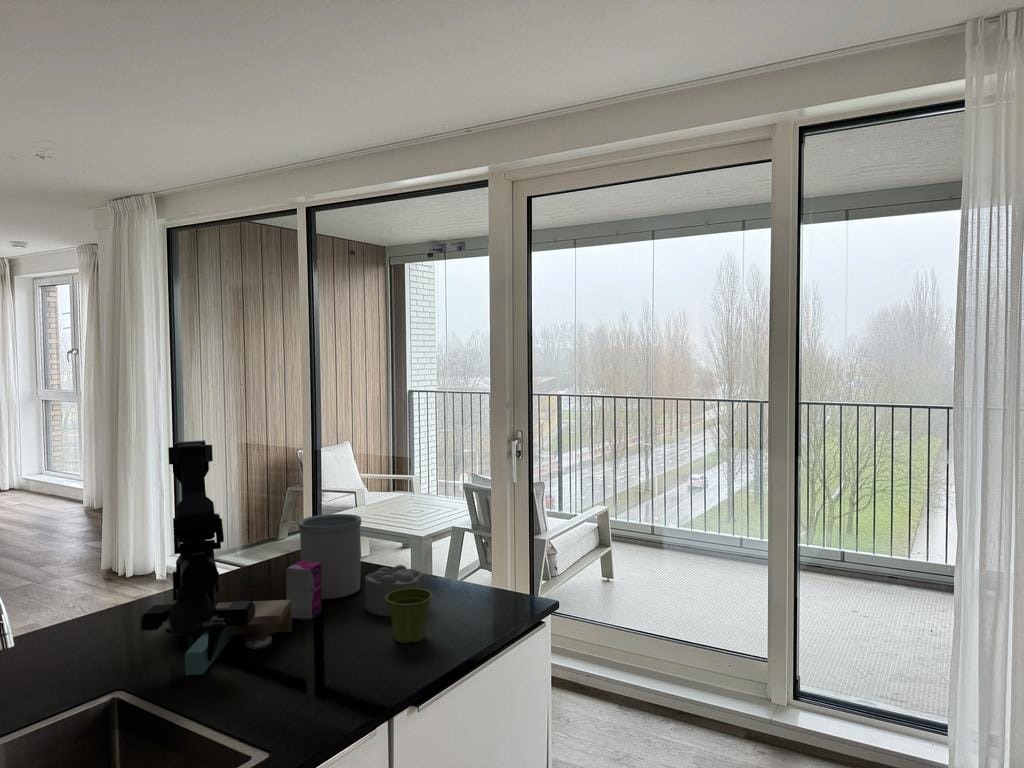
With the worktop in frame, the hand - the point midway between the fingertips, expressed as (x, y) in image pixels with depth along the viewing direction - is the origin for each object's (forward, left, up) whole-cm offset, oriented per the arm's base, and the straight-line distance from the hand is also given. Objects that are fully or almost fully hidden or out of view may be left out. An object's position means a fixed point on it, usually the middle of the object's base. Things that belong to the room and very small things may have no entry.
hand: (200, 660), depth 128 cm
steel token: (+8, +10, -2) cm, 13 cm away
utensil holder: (+17, +41, -2) cm, 45 cm away
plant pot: (+38, +9, -2) cm, 39 cm away
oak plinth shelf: (+5, +11, -1) cm, 13 cm away
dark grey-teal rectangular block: (0, +5, -1) cm, 5 cm away
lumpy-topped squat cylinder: (+33, +27, -2) cm, 43 cm away
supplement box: (+14, +24, -2) cm, 28 cm away
